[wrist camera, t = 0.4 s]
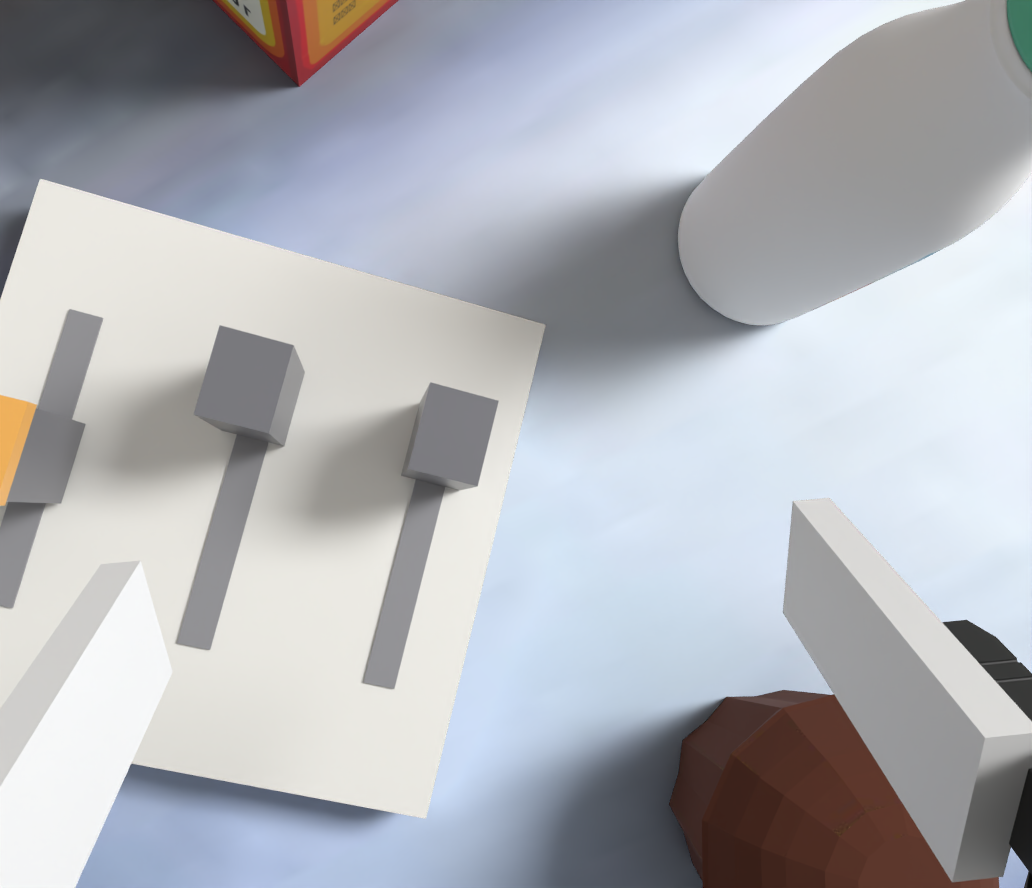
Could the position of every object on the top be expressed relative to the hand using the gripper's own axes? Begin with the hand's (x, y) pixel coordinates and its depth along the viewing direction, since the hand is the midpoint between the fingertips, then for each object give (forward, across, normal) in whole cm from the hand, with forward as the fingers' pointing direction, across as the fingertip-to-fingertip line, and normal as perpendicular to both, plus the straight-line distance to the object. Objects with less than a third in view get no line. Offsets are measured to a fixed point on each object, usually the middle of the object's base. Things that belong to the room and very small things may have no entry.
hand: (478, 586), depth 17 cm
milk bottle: (+24, -14, -1) cm, 28 cm away
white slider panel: (+16, +9, +6) cm, 20 cm away
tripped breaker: (+14, +16, +2) cm, 21 cm away
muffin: (+12, -12, +20) cm, 27 cm away
